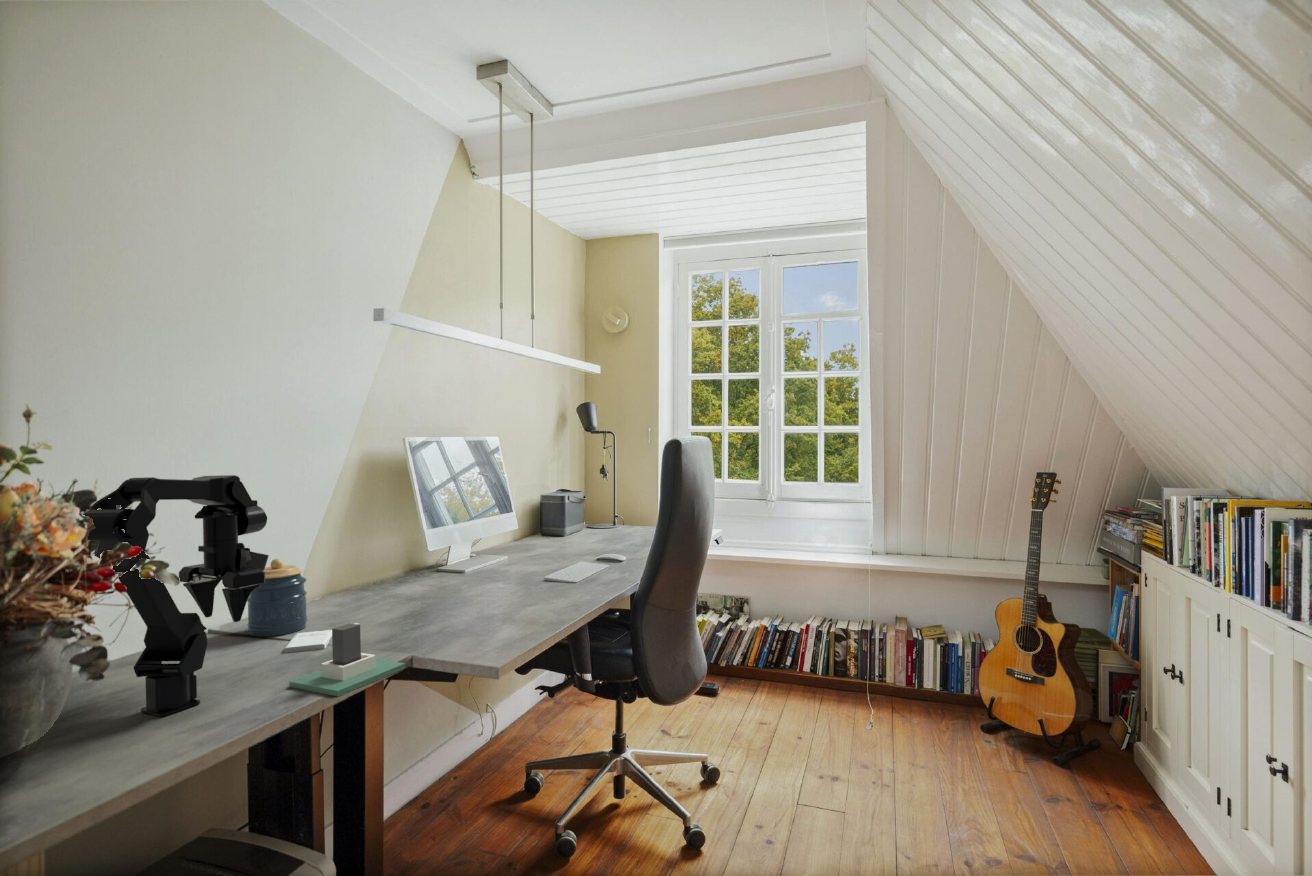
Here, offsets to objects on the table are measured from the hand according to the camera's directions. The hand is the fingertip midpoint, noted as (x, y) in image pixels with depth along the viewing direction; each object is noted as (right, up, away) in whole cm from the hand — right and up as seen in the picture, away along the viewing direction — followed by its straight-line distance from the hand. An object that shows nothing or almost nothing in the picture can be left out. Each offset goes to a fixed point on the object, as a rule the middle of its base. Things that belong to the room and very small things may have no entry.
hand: (222, 619), depth 132 cm
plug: (+25, -10, 0) cm, 27 cm away
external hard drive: (+5, -13, +24) cm, 28 cm away
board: (+25, -11, 0) cm, 27 cm away
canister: (-9, -13, +36) cm, 39 cm away
